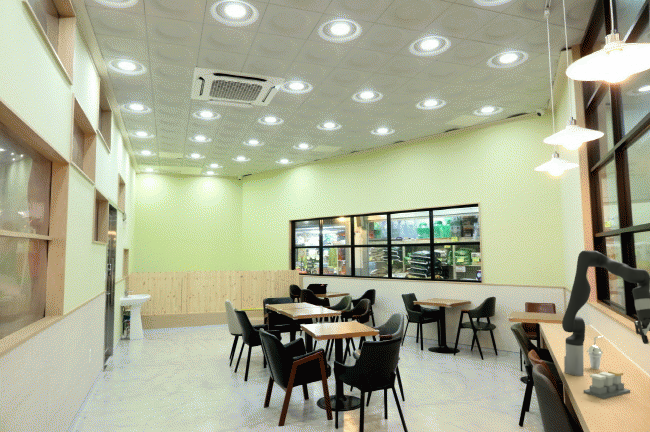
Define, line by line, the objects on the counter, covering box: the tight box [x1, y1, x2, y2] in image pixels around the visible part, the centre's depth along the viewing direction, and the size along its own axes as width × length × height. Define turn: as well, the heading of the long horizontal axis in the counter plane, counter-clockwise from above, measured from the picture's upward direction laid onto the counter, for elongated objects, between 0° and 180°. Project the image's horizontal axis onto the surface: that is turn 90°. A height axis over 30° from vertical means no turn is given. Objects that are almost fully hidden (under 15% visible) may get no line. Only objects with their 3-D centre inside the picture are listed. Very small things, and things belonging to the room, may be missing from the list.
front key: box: [589, 373, 606, 388], centre depth 222 cm, size 5×5×6 cm
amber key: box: [607, 369, 624, 384], centre depth 229 cm, size 5×5×6 cm
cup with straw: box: [586, 335, 605, 370], centre depth 271 cm, size 8×9×20 cm
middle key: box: [598, 371, 615, 386], centre depth 225 cm, size 5×5×6 cm
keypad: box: [583, 382, 631, 400], centre depth 225 cm, size 24×10×4 cm, turn 118°
